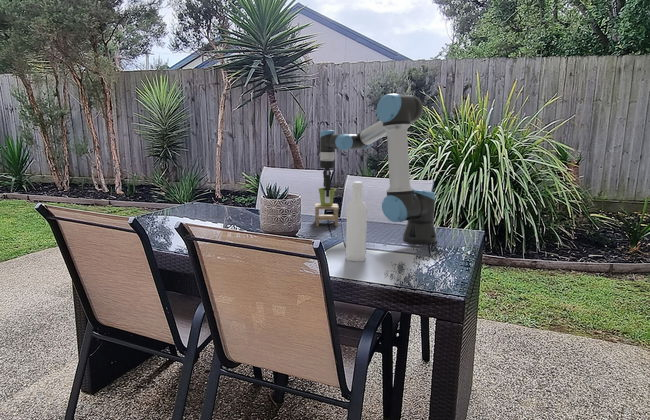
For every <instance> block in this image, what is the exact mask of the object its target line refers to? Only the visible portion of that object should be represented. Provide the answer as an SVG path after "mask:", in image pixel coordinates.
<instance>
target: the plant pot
mask: <svg viewBox="0 0 650 420" xmlns="http://www.w3.org/2000/svg"><path fill="white" fill-rule="evenodd" d="M330 188H331V189H330V203H325V190H324V189H325V188H324V187H321V188H320V187H319V188H318V194H319V200H320V203H321V205H322V206H332V205H333V203H334V197H335V194H336V193H335V192H336V190H337V189H336V188H334V187H330Z"/></svg>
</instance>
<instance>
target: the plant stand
mask: <svg viewBox="0 0 650 420" xmlns="http://www.w3.org/2000/svg"><path fill="white" fill-rule="evenodd" d="M339 209H340V207H339V204H338V203H334V202H333V205H332V206H322V205H321V202H320V203H314V218H315V219H314V222H315V227H319V225H320V224H319V223H320V221H333V223H334V226H335V227H339ZM320 210H333V214H320Z"/></svg>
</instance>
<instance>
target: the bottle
mask: <svg viewBox="0 0 650 420" xmlns="http://www.w3.org/2000/svg"><path fill="white" fill-rule="evenodd" d="M363 187H364V185H363V182H362V181H353V182H352V200H350V202H349V203H348V204H347V207H346V227H345V228H346V230H345V231H346V232H345V234H346V235H345V259H346V260H347V261H350V262H364V261H365V260H366V259H367V229H368V228H367V224H368V208H367V204H366V203H365V202H364V201H363Z"/></svg>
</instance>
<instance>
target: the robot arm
mask: <svg viewBox="0 0 650 420" xmlns="http://www.w3.org/2000/svg"><path fill="white" fill-rule="evenodd" d="M375 112H376V113H375V114H376V116H377V118H378V120H379V121H377V122H375V123H373V124H372V125H370V126H369V127H367V128H365V129H364V130H362V131H360V132H359V133H357V134H355V133H354V134H353V133H344V134H343V133H340V134H339V133H336V131H335V130H334V129H322V130H321V131H320V135H319V154H318V156H319V160H320V161H319V168H320V169H323V171H322V175H323V184H322V185H323V188H325V189H324V190H325V203H330V189H331V188H332V187H331V177H332V171H331V170H330V169H334V168H335V160H336V158H335V157H336V156H335V155H336V153H335V150H341V151H347V150H348V151H349V150H367V149H369V148H370V146H371V144H373V143H374V142H376V141H379V140H380V139H381V138H384V137H385V136H386V141H387V142H386V143H387V160H388V161H387V162H388V175H389V176H388V177H389V187H388V189H387V190H386V196H385V197H384V198H383V200H382V201H381V209H382V213H383V216H384V217H385V218H386V219H387V220H389V221H391V222H393V223H402V222H405V221H407V223H406V225H405V228H404V230H403V234H402V240H403V241H405V242H408V243H412V244H417V245H418V244H419V245H420V244H421V245H423V244H424V245H427V244H434V243H436V242H437V237H438V236H437V232H436V228H435V223H434V222H435V221H434V218H435V206H436V194H435V192H434V191H430V190H422V189H415V188H413V187H411V179H410V164H409V163H410V162H409V161H410V160H409V143H408V141H409V139H408V138H409V137H408V129H409V128H410V127H411V125H412V124H414V123H416V122H417V121H419V120H420V118H421V117H422V115H423V112H424V106H423V103H422V101H421V99H419V97H417V96H415V95H411V94H403V93H402V94H401V93H400V94H399V93H387V94H385V95H383V96H382V97H381V98H380V99H379V101H378V103H377V105H376V111H375Z"/></svg>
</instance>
